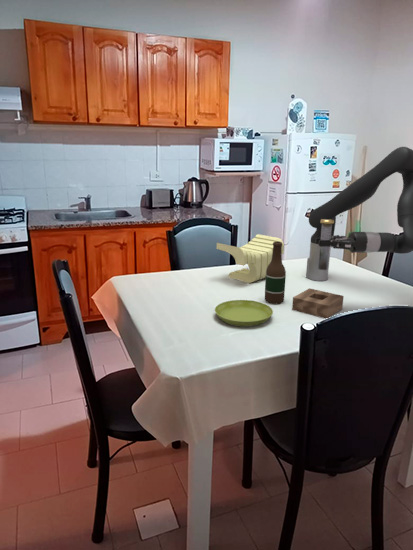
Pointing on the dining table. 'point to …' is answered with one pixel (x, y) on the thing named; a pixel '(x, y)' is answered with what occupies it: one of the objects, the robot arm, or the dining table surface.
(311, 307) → the block
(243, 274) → the slatted curved stool
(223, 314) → the saucer
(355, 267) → the dining table surface
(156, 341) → the dining table surface
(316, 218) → the robot arm
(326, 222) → the steel pin
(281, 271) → the beer bottle
